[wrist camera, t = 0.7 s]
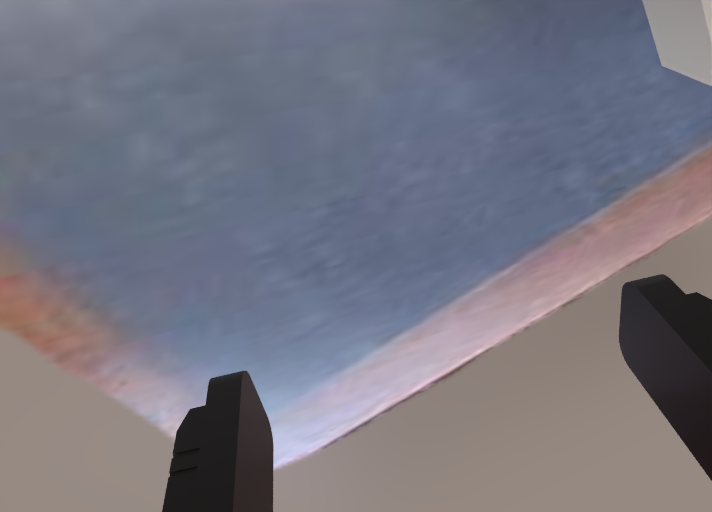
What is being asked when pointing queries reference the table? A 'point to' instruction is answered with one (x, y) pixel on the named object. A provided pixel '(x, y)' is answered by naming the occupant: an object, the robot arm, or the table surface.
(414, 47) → the table surface
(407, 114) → the table surface
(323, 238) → the table surface
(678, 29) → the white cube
